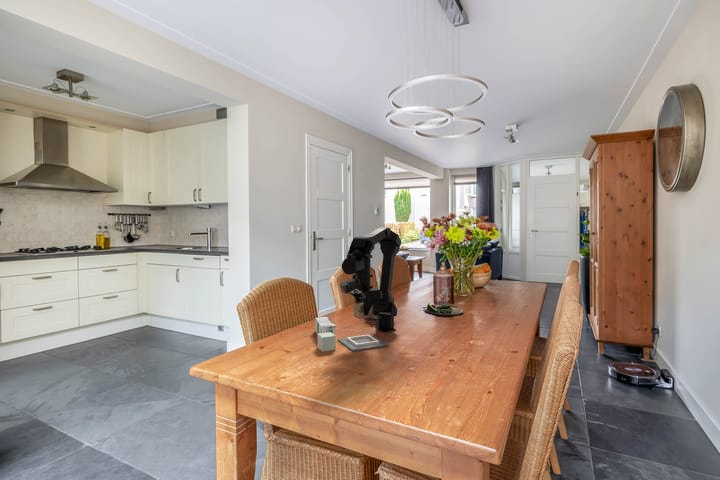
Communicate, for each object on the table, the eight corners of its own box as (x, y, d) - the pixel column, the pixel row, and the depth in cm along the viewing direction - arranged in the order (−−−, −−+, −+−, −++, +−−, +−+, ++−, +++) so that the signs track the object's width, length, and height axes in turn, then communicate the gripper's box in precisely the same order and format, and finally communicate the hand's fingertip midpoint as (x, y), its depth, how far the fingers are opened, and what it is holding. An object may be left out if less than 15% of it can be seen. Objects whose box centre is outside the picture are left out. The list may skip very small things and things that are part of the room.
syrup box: (328, 330, 155) (336, 340, 141) (314, 331, 153) (321, 342, 139) (328, 316, 155) (336, 325, 141) (314, 317, 153) (321, 326, 139)
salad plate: (445, 306, 200) (445, 298, 200) (472, 313, 185) (472, 304, 185) (417, 311, 189) (417, 302, 189) (444, 319, 174) (444, 309, 174)
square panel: (371, 335, 147) (371, 332, 147) (388, 346, 135) (388, 342, 134) (337, 340, 141) (337, 336, 141) (352, 351, 129) (352, 347, 129)
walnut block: (366, 314, 141) (365, 301, 141) (372, 317, 136) (371, 303, 136) (353, 315, 139) (353, 302, 139) (359, 319, 134) (359, 305, 134)
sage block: (330, 345, 135) (330, 332, 135) (335, 349, 131) (335, 335, 131) (317, 347, 133) (317, 333, 133) (322, 352, 129) (322, 337, 129)
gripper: (332, 269, 142) (333, 310, 143) (352, 275, 125) (353, 322, 126) (359, 268, 147) (359, 307, 147) (382, 273, 130) (382, 318, 130)
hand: (362, 313), depth 137 cm, fingers closed on walnut block, 5 cm apart
